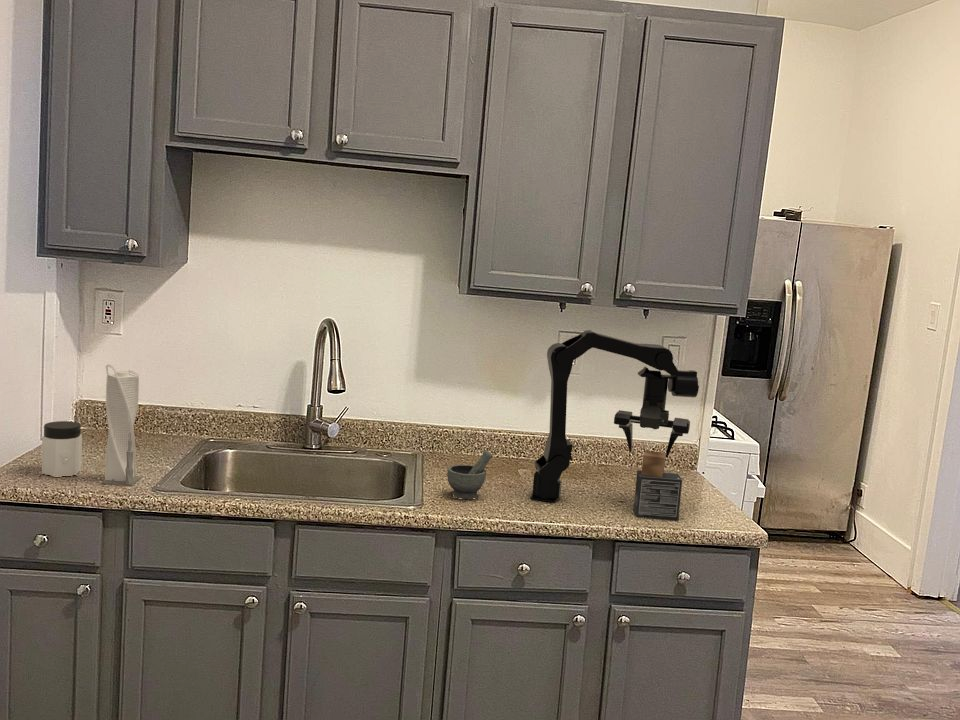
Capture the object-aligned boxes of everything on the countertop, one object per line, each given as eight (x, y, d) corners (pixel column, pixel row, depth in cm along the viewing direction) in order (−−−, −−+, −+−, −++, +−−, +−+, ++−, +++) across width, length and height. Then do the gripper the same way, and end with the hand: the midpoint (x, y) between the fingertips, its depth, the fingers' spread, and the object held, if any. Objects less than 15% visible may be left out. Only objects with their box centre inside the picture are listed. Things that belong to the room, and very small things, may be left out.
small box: (674, 513, 236) (679, 472, 234) (678, 521, 229) (683, 479, 228) (632, 509, 236) (636, 469, 234) (635, 517, 230) (640, 476, 228)
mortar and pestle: (448, 501, 230) (451, 454, 228) (442, 490, 239) (446, 444, 237) (493, 502, 232) (497, 455, 230) (486, 491, 241) (489, 446, 239)
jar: (45, 479, 221) (46, 429, 220) (38, 470, 228) (38, 422, 226) (85, 475, 227) (86, 427, 225) (77, 467, 233) (78, 420, 231)
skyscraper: (95, 483, 221) (98, 366, 217) (108, 474, 229) (111, 361, 225) (131, 486, 221) (134, 369, 217) (143, 477, 229) (146, 364, 225)
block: (641, 474, 229) (643, 455, 229) (643, 470, 234) (645, 450, 233) (661, 477, 228) (664, 457, 227) (663, 473, 233) (665, 453, 232)
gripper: (614, 395, 232) (607, 456, 234) (690, 404, 227) (683, 467, 230) (619, 388, 243) (613, 447, 245) (693, 397, 238) (686, 457, 240)
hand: (648, 454), depth 240 cm, fingers open, 9 cm apart
